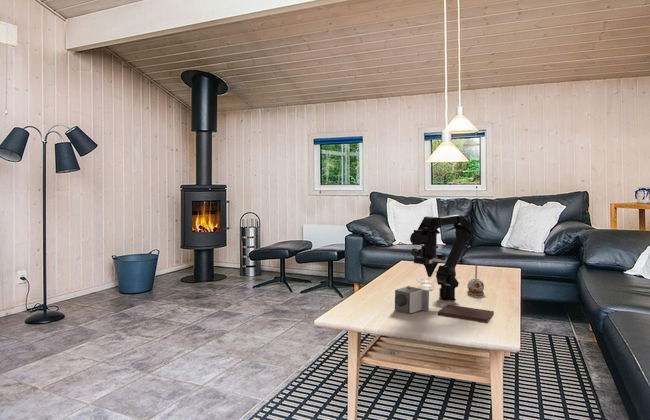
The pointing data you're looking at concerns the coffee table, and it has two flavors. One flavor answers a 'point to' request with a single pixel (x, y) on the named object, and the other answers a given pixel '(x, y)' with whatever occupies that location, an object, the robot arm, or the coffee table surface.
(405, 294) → the block
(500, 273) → the coffee table surface
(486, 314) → the notebook
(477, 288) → the decorative ornament
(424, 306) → the door
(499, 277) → the coffee table surface
